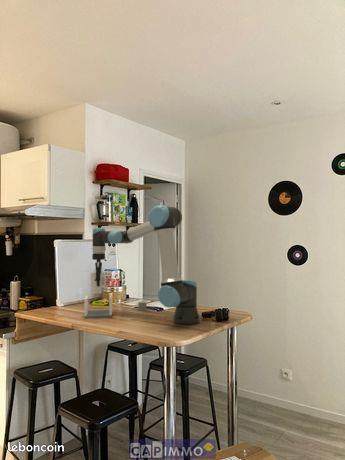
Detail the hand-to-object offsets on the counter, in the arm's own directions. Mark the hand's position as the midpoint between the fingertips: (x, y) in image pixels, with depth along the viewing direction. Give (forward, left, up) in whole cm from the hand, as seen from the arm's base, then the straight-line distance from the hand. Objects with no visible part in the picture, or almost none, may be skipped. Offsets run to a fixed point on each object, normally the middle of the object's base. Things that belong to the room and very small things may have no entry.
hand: (98, 290), depth 218 cm
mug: (+1, 0, -2) cm, 2 cm away
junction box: (+15, -28, -15) cm, 35 cm away
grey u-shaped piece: (0, 0, -15) cm, 15 cm away
